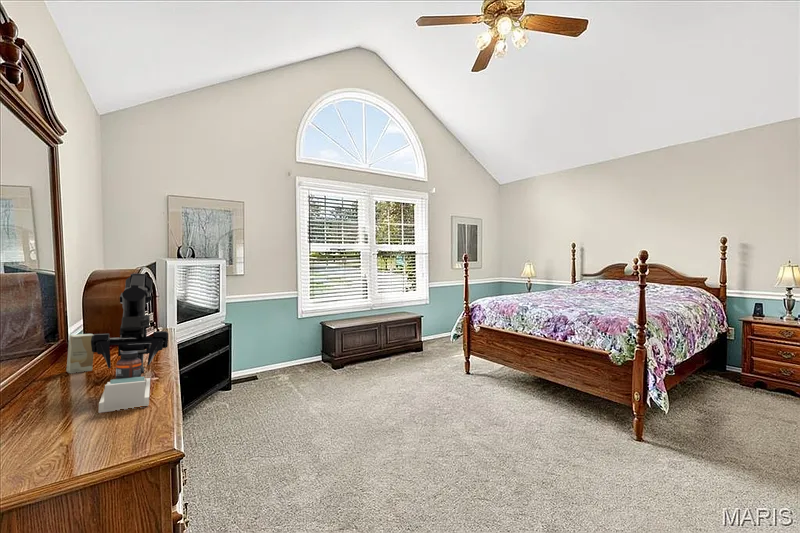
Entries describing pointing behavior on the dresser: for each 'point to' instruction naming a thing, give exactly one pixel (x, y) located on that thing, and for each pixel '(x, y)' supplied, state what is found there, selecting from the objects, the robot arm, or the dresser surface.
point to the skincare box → (80, 353)
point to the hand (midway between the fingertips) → (129, 365)
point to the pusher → (126, 380)
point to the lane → (125, 395)
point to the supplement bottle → (128, 365)
